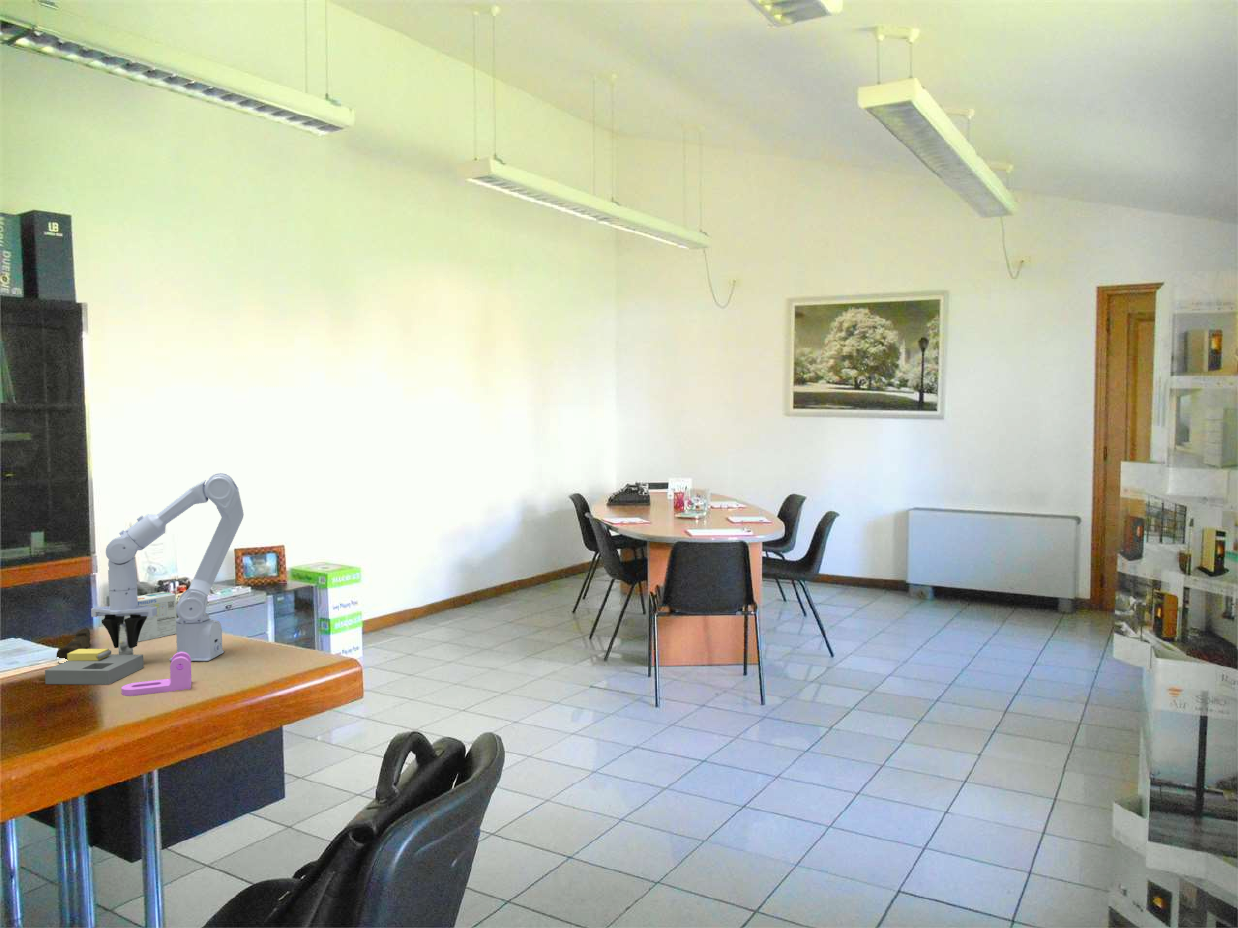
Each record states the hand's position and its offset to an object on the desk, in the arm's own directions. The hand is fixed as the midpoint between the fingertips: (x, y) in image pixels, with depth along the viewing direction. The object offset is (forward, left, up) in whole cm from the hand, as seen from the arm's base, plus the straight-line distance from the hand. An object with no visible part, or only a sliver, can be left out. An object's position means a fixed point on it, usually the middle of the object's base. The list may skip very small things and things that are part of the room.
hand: (125, 646), depth 210 cm
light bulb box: (+9, -26, -4) cm, 28 cm away
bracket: (-18, +19, -4) cm, 27 cm away
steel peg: (0, 0, -2) cm, 2 cm away
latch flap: (+4, +7, -1) cm, 8 cm away
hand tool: (+18, -9, -4) cm, 21 cm away
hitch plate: (+1, +10, -4) cm, 10 cm away
